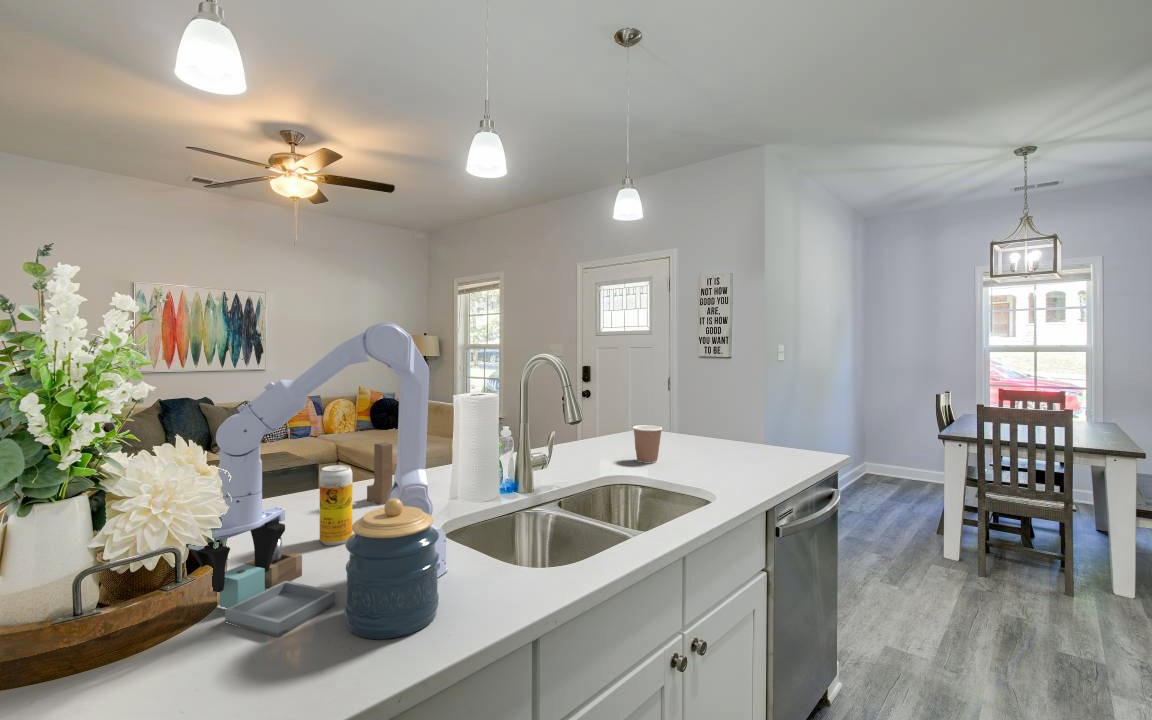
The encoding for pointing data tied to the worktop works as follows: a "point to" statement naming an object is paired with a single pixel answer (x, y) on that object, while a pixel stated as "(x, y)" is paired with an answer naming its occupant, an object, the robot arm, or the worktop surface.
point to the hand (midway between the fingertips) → (240, 580)
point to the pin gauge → (277, 552)
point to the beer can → (335, 504)
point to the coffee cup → (647, 442)
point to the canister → (391, 572)
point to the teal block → (242, 584)
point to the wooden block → (381, 473)
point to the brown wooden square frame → (282, 569)
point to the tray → (280, 608)
